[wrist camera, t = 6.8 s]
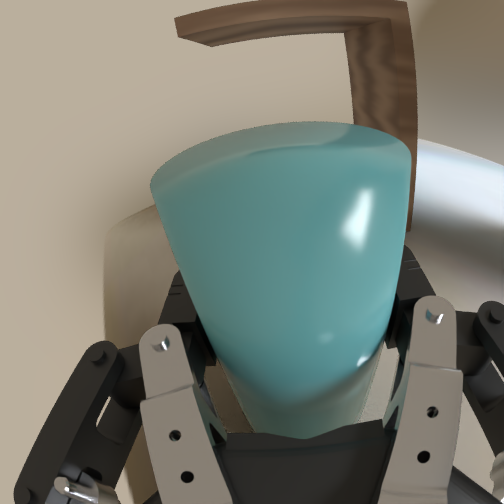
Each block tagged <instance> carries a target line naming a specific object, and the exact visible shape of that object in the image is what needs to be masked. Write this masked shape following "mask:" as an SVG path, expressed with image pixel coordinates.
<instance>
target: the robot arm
mask: <svg viewBox="0 0 504 504" xmlns="http://www.w3.org/2000/svg"><path fill="white" fill-rule="evenodd" d="M385 342H386V346H387V349H390V348H395V347H397V349H398V352H399V356H398V359H397V364H396V369H395V374H394V379H393V384H392V389H391V393H390V397H389V402H388V406H387V409H386V412H385V415H384V417H383V420H382V419H379V420H374V421H368V422H363V423H357V424H351V425H345V426H342V427H340V428H337V429H334V430H332V431H329V432H326V433H323V434H321V435H318V436H315V437H312V438H308V439H298V438H292V437H286V436H280V435H274V434H269V433H227V432H226V430H225V428H224V426H223V424H222V422H221V420H220V417H219V415H218V412H217V409H216V407H215V404H214V401H213V398H212V395H211V393H210V390H209V387H208V384H207V381H206V379H205V377H204V373H205V367H206V366H216V359H217V356H216V354H215V352H214V350H213V348H212V345H211V343H210V341H209V339H208V336H207V334H206V332H205V330H204V327H203V325H202V323H201V320H200V318H199V316H198V313H197V311H196V309H195V306H194V304H193V302H192V299H191V297H190V294H189V292H188V289H187V287H186V285H185V282H184V280H183V277H182V275H181V272H180V270H179V271H178V272H177V273H176V274H175V276H174V278H173V281H172V284H171V287H170V290H169V293H168V296H167V298H166V301H165V304H164V307H163V310H162V313H161V316H160V319H159V322H158V325H157V326H154V327H152V328H150V329H149V330H148V331H146V332H145V333H144V335H143V336H142V337H141V339H140V342H139V344H137V345H133V346H130V347H126V348H123V349H119V350H118V349H117V348H116V346H115V345H114V344H113V343H112V342H109V341H100V342H97V343H95V344H93V345H92V346H90V347H89V348H88V349H87V350H86V352H85V353H84V355H83V356H82V358H81V360H80V361H79V363H78V365H77V366H76V368H75V370H74V372H73V373H72V375H71V376H70V378H69V380H68V382H67V383H66V385H65V387H64V389H63V390H62V392H61V394H60V396H59V397H58V399H57V401H56V403H55V405H54V407H53V408H52V410H51V412H50V414H49V416H48V418H47V420H46V422H45V424H44V425H43V427H42V429H41V431H40V433H39V435H38V437H37V439H36V441H35V443H34V445H33V447H32V450H31V452H30V454H29V456H28V458H27V460H26V462H25V464H24V467H23V469H22V471H21V473H20V475H19V478H18V480H17V482H16V485H15V488H14V501H15V504H121V503H120V501H119V500H118V497H117V494H116V492H115V491H114V489H115V487H116V484H117V482H118V479H119V477H120V474H121V472H122V470H123V467H124V465H125V463H126V460H127V458H128V455H129V453H130V451H131V448H132V446H133V444H134V441H135V439H136V437H137V434H138V432H139V430H140V427H141V425H142V423H143V427H144V432H145V437H146V441H147V446H148V450H149V455H150V459H151V463H152V467H153V471H154V475H155V479H156V483H157V487H158V491H157V492H155V493H154V494H153V495H152V496H151V497H150V498H149V499H148V500H146V501H145V502H144V503H143V504H504V382H503V381H502V379H501V377H500V376H499V374H498V372H497V371H496V369H495V368H494V366H493V364H492V363H491V361H492V360H493V361H494V363H495V364H496V366H497V367H498V369H499V371H500V372H501V374H502V376H503V377H504V305H503V304H501V303H499V302H496V301H487V302H485V303H483V304H482V305H481V306H480V308H479V310H478V312H477V313H474V312H462V311H456V310H455V309H454V307H453V306H452V305H451V303H450V302H448V301H447V300H446V299H444V298H442V297H439V296H436V294H435V292H434V291H433V289H432V287H431V285H430V283H429V281H428V279H427V278H426V276H425V274H424V272H423V271H422V269H421V268H420V265H419V264H418V262H417V261H416V258H415V257H414V255H413V253H412V252H411V250H410V249H409V248H408V247H406V246H405V245H404V246H403V253H402V259H401V265H400V271H399V277H398V282H397V288H396V293H395V298H394V302H393V307H392V312H391V316H390V320H389V325H388V329H387V333H386V337H385ZM462 391H463V393H464V394H465V396H466V398H467V400H468V402H469V404H470V406H471V407H472V409H473V411H474V413H475V415H476V417H477V419H478V421H479V423H480V425H481V427H482V429H483V431H484V433H485V435H486V438H487V440H488V442H489V444H490V446H491V448H492V451H493V453H494V455H495V457H496V458H495V460H494V463H493V467H492V470H491V472H490V478H491V480H492V481H494V488H493V492H492V495H491V494H490V493H489V492H487V491H486V490H485V489H483V488H482V487H481V486H479V485H478V484H477V483H475V482H474V481H473V480H471V479H470V478H469V477H467V476H466V475H465V474H464V473H462V472H461V471H460V470H458V469H457V468H456V467H454V466H453V460H454V455H455V450H456V444H457V437H458V430H459V422H460V414H461V403H462ZM109 396H110V397H111V399H110V401H109V403H108V405H107V407H106V409H105V411H104V413H103V415H102V417H101V419H100V421H99V424H98V426H97V427H96V422H97V419H98V417H99V415H100V413H101V410H102V408H103V407H104V405H105V402H106V400H107V399H108V397H109Z"/></svg>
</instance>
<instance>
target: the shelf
mask: <svg viewBox="0 0 504 504" xmlns="http://www.w3.org/2000/svg"><path fill="white" fill-rule="evenodd" d="M174 19H175V25H176V29H177V34H178V37H179V38H183V39H187V40H190V41H194V42H197V43H201V44H204V45H207V46H210V47H214V46H219V45H224V44H229V43H234V42H240V41H246V40H252V39H260V38H268V37H276V36H286V35H299V34H317V33H344V37H345V44H346V51H347V58H348V66H349V74H350V83H351V94H352V106H353V119H354V125H360V126H365V127H369V128H373V129H376V130H380V131H382V132H385V133H387V134H390V135H392V136H394V137H396V138H397V139H399V140H400V141H402V142H403V143H404V144H405V145H406V146H407V147H408V149H409V151H410V153H411V177H410V191H409V203H408V214H407V223H406V231H410V228H411V221H412V212H413V203H414V192H415V180H416V164H417V130H418V129H417V128H418V124H417V123H418V119H417V118H418V116H417V87H416V86H417V85H416V70H415V59H414V49H413V40H412V33H411V26H410V19H409V13H408V7H407V2H404V1H397V0H258V1H251V2H244V3H238V4H232V5H227V6H221V7H216V8H212V9H208V10H203V11H199V12H195V13H191V14H187V15H184V16H180V17H176V18H174Z"/></svg>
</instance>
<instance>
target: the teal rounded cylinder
mask: <svg viewBox="0 0 504 504" xmlns="http://www.w3.org/2000/svg"><path fill="white" fill-rule="evenodd" d="M410 177H411V153H410V151H409V149H408V147H407V146H406V145H405V144H404V143H403V142H402V141H400V140H399V139H397V138H396V137H394V136H392V135H390V134H387V133H385V132H382V131H380V130H376V129H373V128H369V127H365V126H360V125H354V124H347V123H338V122H316V121H314V122H290V123H279V124H272V125H265V126H259V127H254V128H249V129H244V130H240V131H236V132H232V133H229V134H225V135H222V136H219V137H216V138H213V139H210V140H208V141H205V142H202V143H200V144H197V145H195V146H193V147H191V148H189V149H187V150H185V151H183V152H181V153H179V154H178V155H176V156H174V157H173V158H172V159H170V160H169V161H167V162H166V163H165V164H164V165H162V166H161V167H160V168H159V169H158V170H157V171H156V173H155V174H154V176H153V177H152V179H151V183H150V188H151V193H152V195H153V198H154V201H155V204H156V207H157V210H158V213H159V216H160V219H161V221H162V224H163V227H164V230H165V233H166V235H167V238H168V241H169V243H170V246H171V249H172V251H173V254H174V257H175V259H176V262H177V264H178V267H179V269H180V272H181V275H182V277H183V280H184V282H185V285H186V287H187V289H188V292H189V294H190V297H191V299H192V302H193V304H194V306H195V309H196V311H197V313H198V316H199V318H200V320H201V323H202V325H203V327H204V330H205V332H206V334H207V336H208V339H209V341H210V343H211V345H212V348H213V350H214V352H215V354H216V356H217V359H218V361H219V363H220V365H221V367H222V369H223V371H224V374H225V376H226V378H227V380H228V382H229V384H230V386H231V388H232V390H233V392H234V394H235V396H236V398H237V400H238V402H239V404H240V406H241V408H242V410H243V412H244V414H245V416H246V418H247V420H248V422H249V424H250V425H251V427H252V429H253V430H254V431H255V432H256V433H269V434H274V435H280V436H286V437H292V438H298V439H308V438H312V437H315V436H318V435H321V434H323V433H326V432H329V431H332V430H334V429H337V428H340V427H342V426H345V425H351V424H357V422H358V420H359V419H360V416H361V414H362V412H363V409H364V406H365V403H366V400H367V397H368V394H369V391H370V388H371V385H372V382H373V379H374V376H375V372H376V369H377V366H378V362H379V359H380V355H381V352H382V348H383V344H384V341H385V337H386V333H387V329H388V325H389V320H390V316H391V312H392V307H393V302H394V298H395V293H396V288H397V282H398V277H399V271H400V265H401V259H402V253H403V246H404V239H405V231H406V223H407V214H408V203H409V191H410Z"/></svg>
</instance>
